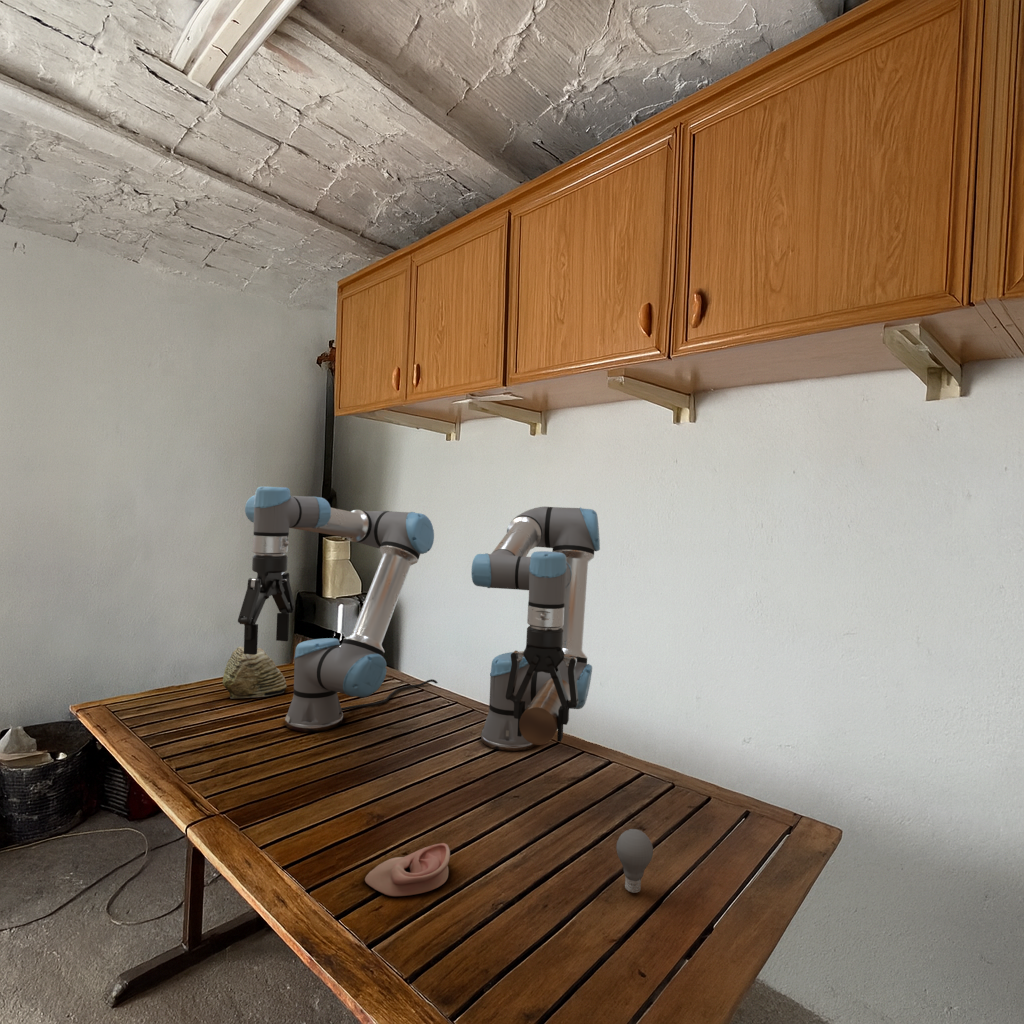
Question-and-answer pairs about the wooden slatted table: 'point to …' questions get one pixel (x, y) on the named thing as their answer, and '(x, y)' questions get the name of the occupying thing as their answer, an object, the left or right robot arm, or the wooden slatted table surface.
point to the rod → (542, 714)
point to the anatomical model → (412, 872)
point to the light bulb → (634, 857)
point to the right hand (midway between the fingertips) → (540, 736)
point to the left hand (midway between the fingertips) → (267, 647)
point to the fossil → (252, 675)
